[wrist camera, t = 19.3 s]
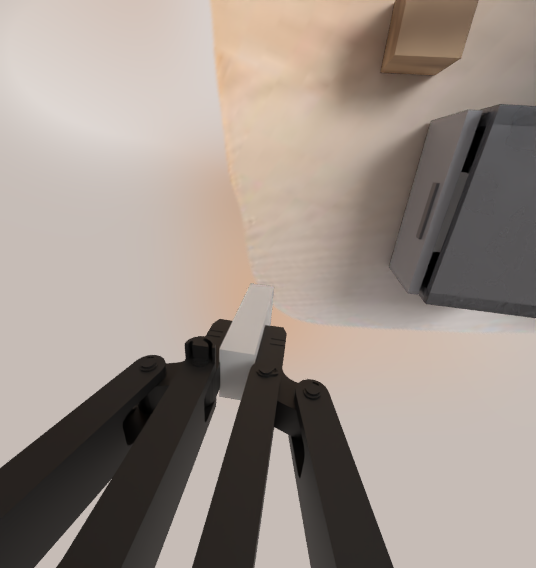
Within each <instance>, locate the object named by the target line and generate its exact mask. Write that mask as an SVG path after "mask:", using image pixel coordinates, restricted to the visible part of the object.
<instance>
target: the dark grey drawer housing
mask: <svg viewBox="0 0 536 568" xmlns="http://www.w3.org/2000/svg"><path fill="white" fill-rule="evenodd" d="M481 110H482V114H481V117H480V120H479V123H478V126H477V128H476V131H475V134H474V137H473V140H472V143H471V145H470V148H469V151H468V154H467V157H466V160H465V162H464V165H463V168H462V171H461V172H467V173H469V175H468V178H467V180H466V183H465V186H464V189H463V191H462V194H461V197H460V199H459V202H458V205H457V208H456V210H455V213H454V216H453V219H452V221H451V224H450V227H449V230H448V232H447V235H446V238H445V240H444V243H443V246H442V249H441V251H440V252H433V253H432V256H431V259H430V262H429V264H428V267H427V270H426V273H425V276H424V279H423V281H422V284H421V287H420V290H419V293H418V294H419V296H420V297H421V298H422V300H423V301H424V302H425V303H426V304H431V305H439V306H446V307H454V308H462V309H469V310H477V311H485V312H493V313H500V314H508V315H516V316H524V317H531V318H536V106H522V105H506V104H499V105H496V106H492V107H489V108H485V109H481Z"/></svg>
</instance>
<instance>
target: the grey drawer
mask: <svg viewBox="0 0 536 568" xmlns="http://www.w3.org/2000/svg"><path fill="white" fill-rule="evenodd" d="M481 114H482V110H466V111H462V112H459V113H456V114H452V115H449V116H446V117H442V118H439V119H436V120H432V121H431V123H430V126H429V130H428V133H427V137H426V140H425V144H424V147H423V150H422V154H421V157H420V161H419V164H418V168H417V171H416V175H415V178H414V182H413V185H412V189H411V192H410V196H409V199H408V203H407V206H406V210H405V213H404V217H403V220H402V224H401V227H400V231H399V234H398V238H397V241H396V244H395V248H394V251H393V255H392V258H391V262H390V265H389V268H390V269H391V270H392V272H393V273H394V275H395V276H396V278H397V279H398V280H399V282H400V283H401V285H402V286H403V287H404V289H405V290H406V292H407V293H411V294H418V293H419V290H420V287H421V284H422V281H423V279H424V276H425V273H426V270H427V267H428V264H429V262H430V259H431V256H432V253H433V252H440V251H441V249H442V246H443V243H444V240H445V238H446V235H447V232H448V230H449V227H450V224H451V221H452V219H453V216H454V213H455V210H456V208H457V205H458V202H459V199H460V197H461V194H462V191H463V189H464V186H465V183H466V180H467V178H468V175H469V173H467V172H461V171H462V168H463V165H464V162H465V160H466V157H467V154H468V151H469V148H470V145H471V143H472V140H473V137H474V134H475V131H476V128H477V126H478V123H479V120H480V117H481Z"/></svg>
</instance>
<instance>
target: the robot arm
mask: <svg viewBox="0 0 536 568" xmlns="http://www.w3.org/2000/svg"><path fill="white" fill-rule="evenodd" d="M273 293H274V286H267V285H260V284H250V286H249V288H248V291H247V292H246V294H245V296H244V298H243V301H242V303H241V305H240V307H239V309H238V311H237V313H236V315H235V317H234V319H233V321H230V320H223V319H219V320H218V321H216V322H215V323H213V325H212V326H211V328H210V330H209V331H208V333H207V335H206V336H205V337H204V336H198V337H194V338H191V339H189V340H188V341H187V342H186V343H185V354H186V359H185V361H183V362H178V363H169V364H166V363H165V360H164V358H162V357H161V356H157V355H148V356H145V357H142V358H140V359H138V360H137V361H135V362H134V363H133V364H131V365H130V366H129V367H128V368H126V369H125V370H124V371H123V372H121V373H120V374H119V375H118V376H116V377H115V378H114V379H113V380H111V381H110V382H109V383H107V384H106V385H105V386H104V387H102V388H101V389H100V390H99V391H97V392H96V393H95V394H94V395H92V396H91V397H90V398H89V399H87V400H86V401H85V402H83V403H82V404H81V405H80V406H78V407H77V408H76V409H75V410H73V411H72V412H71V413H69V414H68V415H67V416H66V417H64V418H63V419H62V420H61V421H59V422H58V423H57V424H56V425H54V426H53V427H52V428H50V429H49V430H48V431H47V432H45V433H44V434H43V435H42V436H40V437H39V438H38V439H37V440H35V441H34V442H33V443H32V444H30V445H29V446H28V447H26V448H25V449H24V450H23V451H22V452H20V453H19V454H18V455H17V456H15V457H14V458H12V459H11V460H10V461H9V462H7V463H6V464H5V465H4V466H2V467H1V468H0V568H34V567H35V566H36V565H37V564H38V562H39V561H40V560H41V559H42V558H43V557H44V556H45V555H46V553H47V552H48V551H49V550H50V549H51V548H52V546H53V545H54V544H55V543H56V542H57V541H58V540H59V538H60V537H61V536H62V535H63V534H64V533H65V532H66V530H67V529H68V528H69V527H70V526H71V525H72V524H73V522H74V521H75V520H76V519H77V518H78V517H79V516H80V514H81V513H82V512H83V511H84V510H85V508H87V506H88V505H89V504H90V503H91V502H92V501H93V499H94V498H95V497H96V496H97V494H99V493H100V491H101V490H102V489H103V488H104V487H105V486H106V485H107V483H108V482H109V481H110V480H111V479H112V480H111V481H110V483H109V484H108V486H107V487H106V489H105V491H104V492H103V494H102V496H101V497H100V499H99V501H98V502H97V504H96V505H95V507H94V509H93V510H92V512H91V513H90V515H89V517H88V518H87V520H86V522H85V523H84V525H83V526H82V528H81V530H80V532H79V533H78V535H77V536H76V538H75V539H74V541H73V543H72V544H71V546H70V548H69V549H68V551H67V553H66V554H65V556H64V557H63V559H62V560H61V562H60V563H59V564H58V566H57V567H56V568H155V565H156V562H157V560H158V558H159V555H160V552H161V550H162V547H163V544H164V542H165V539H166V536H167V534H168V531H169V529H170V526H171V523H172V521H173V518H174V515H175V513H176V510H177V507H178V505H179V502H180V499H181V497H182V494H183V492H184V489H185V486H186V484H187V481H188V478H189V476H190V473H191V470H192V468H193V465H194V462H195V460H196V457H197V455H198V452H199V449H200V447H201V444H202V441H203V439H204V436H205V433H206V431H207V428H208V426H209V423H210V420H211V418H212V415H213V412H214V410H215V407H216V396H217V394H218V391H219V390H220V391H219V396H220V397H225V398H231V399H237V400H241V402H240V406H239V409H238V412H237V415H236V419H235V422H234V426H233V429H232V433H231V436H230V439H229V443H228V446H227V450H226V453H225V457H224V460H223V463H222V467H221V471H220V474H219V477H218V481H217V484H216V487H215V491H214V495H213V498H212V501H211V505H210V508H209V511H208V515H207V518H206V522H205V525H204V529H203V532H202V535H201V539H200V542H199V546H198V549H197V553H196V556H195V560H194V563H193V566H192V568H254V565H255V559H256V552H257V545H258V538H259V531H260V524H261V517H262V510H263V502H264V495H265V488H266V480H267V474H268V467H269V460H270V453H271V445H272V438H273V430H274V427H275V428H277V429H279V430H281V431H283V432H285V433H286V434H288V435H289V443H290V449H291V454H292V460H293V466H294V472H295V478H296V484H297V489H298V495H299V501H300V507H301V512H302V519H303V524H304V529H305V536H306V542H307V547H308V554H309V559H310V565H311V568H394V567H393V565H392V562H391V559H390V557H389V554H388V552H387V549H386V546H385V543H384V541H383V538H382V535H381V532H380V529H379V527H378V524H377V521H376V519H375V516H374V513H373V511H372V508H371V505H370V503H369V500H368V497H367V494H366V492H365V489H364V486H363V484H362V481H361V478H360V475H359V473H358V470H357V467H356V465H355V462H354V459H353V457H352V454H351V451H350V448H349V446H348V443H347V440H346V438H345V435H344V432H343V429H342V427H341V425H340V421H339V419H338V416H337V413H336V411H335V408H334V405H333V402H332V400H331V397H330V394H329V392H328V390H327V388H326V387H325V386H324V385H323V384H322V383H320V382H318V381H315V380H310V379H307V380H302V381H301V382H299V383H297V382H294V381H292V380H290V379H289V378H288V377H287V376H286V375H285V374H284V373H283V370H282V365H283V357H284V350H285V342H286V332H285V330H284V328H283V327H276V326H270V324H271V314H272V304H273Z"/></svg>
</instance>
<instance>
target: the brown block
mask: <svg viewBox="0 0 536 568" xmlns="http://www.w3.org/2000/svg"><path fill="white" fill-rule="evenodd" d="M477 3H478V0H396V1H395V3H394V8H393V13H392V18H391V23H390V28H389V33H388V38H387V43H386V47H385V52H384V57H383V62H382V67H381V73H401V74H420V75H436V74H438V73H439V72H441V71H442V70H444V69H445V68H447V67H448V66H450V65H451V64H453V63H454V62H456V61H457V60H459V59H460V58H461V56H462V53H463V50H464V46H465V43H466V40H467V37H468V33H469V30H470V27H471V23H472V20H473V17H474V13H475V10H476V7H477Z"/></svg>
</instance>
